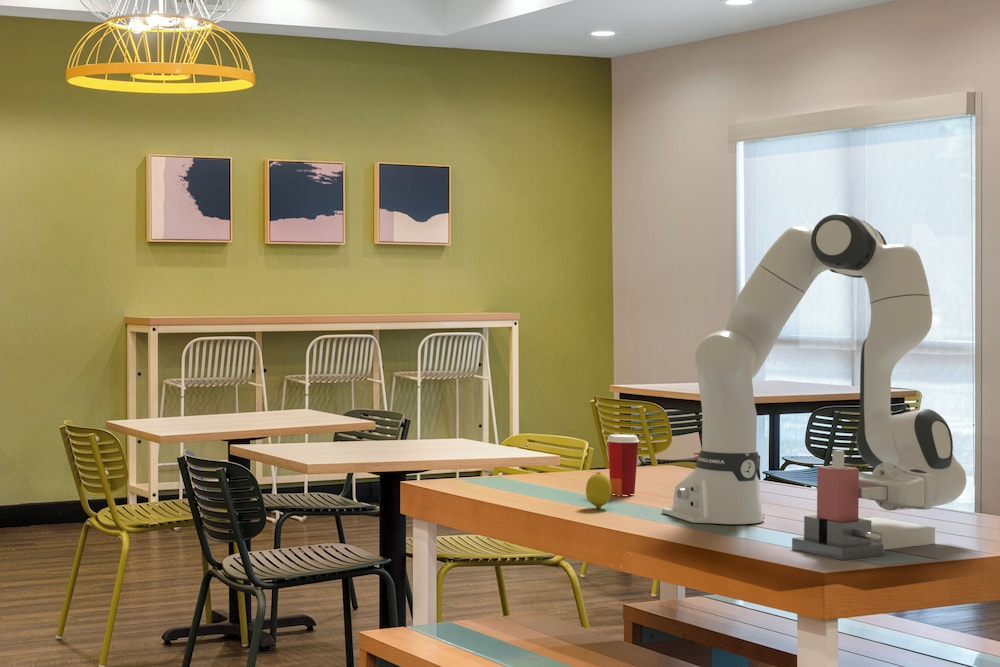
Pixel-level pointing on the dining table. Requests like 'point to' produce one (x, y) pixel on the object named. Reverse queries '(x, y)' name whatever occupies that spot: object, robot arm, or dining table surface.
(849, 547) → the vise
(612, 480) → the paper cup
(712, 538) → the dining table surface
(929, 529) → the block
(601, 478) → the lemon
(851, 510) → the sleeve
